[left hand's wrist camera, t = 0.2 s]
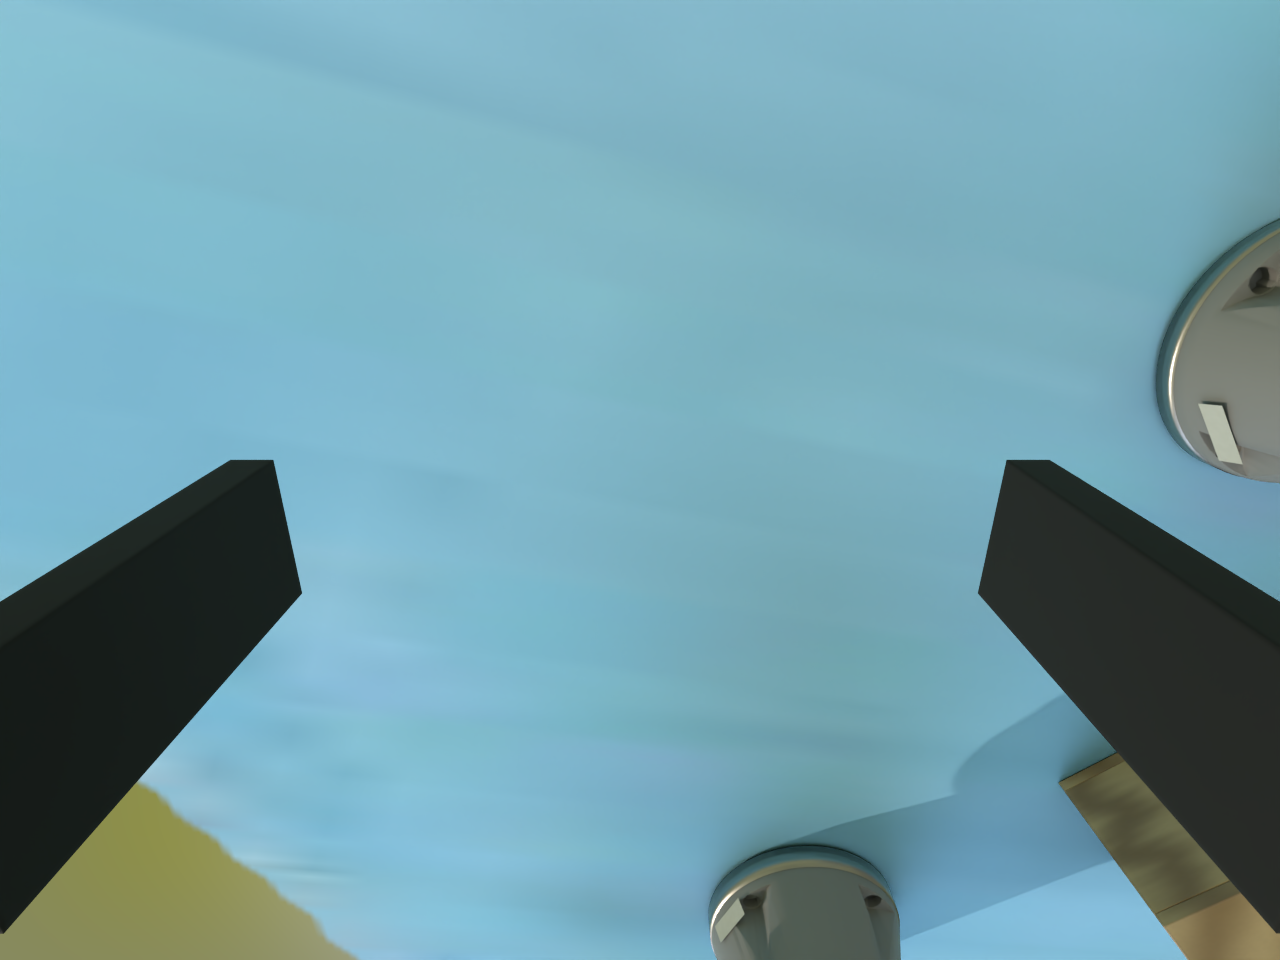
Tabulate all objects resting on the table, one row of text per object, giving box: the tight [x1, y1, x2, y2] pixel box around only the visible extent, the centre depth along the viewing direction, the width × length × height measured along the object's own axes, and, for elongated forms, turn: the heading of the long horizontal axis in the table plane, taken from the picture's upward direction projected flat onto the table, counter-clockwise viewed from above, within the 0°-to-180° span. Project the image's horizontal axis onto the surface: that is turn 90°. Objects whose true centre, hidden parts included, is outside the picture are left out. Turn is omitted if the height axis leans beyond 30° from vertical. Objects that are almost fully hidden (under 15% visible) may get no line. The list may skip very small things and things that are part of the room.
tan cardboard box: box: [1059, 753, 1280, 960], centre depth 46 cm, size 18×10×11 cm, turn 129°
